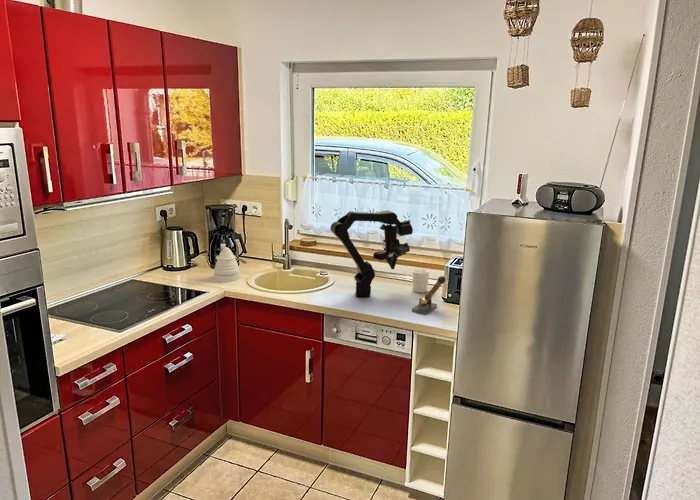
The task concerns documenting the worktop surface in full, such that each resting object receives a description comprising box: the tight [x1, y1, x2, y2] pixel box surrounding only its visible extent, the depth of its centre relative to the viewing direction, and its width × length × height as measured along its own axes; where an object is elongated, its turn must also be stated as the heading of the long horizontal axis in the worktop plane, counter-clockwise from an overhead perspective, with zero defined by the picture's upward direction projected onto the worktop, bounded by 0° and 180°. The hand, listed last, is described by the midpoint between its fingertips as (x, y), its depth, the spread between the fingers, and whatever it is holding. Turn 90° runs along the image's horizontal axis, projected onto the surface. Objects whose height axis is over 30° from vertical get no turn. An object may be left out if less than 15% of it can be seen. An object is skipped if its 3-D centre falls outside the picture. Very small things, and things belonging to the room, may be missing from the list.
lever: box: [424, 275, 446, 303], centre depth 230 cm, size 3×4×15 cm
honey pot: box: [213, 243, 241, 283], centre depth 269 cm, size 13×13×18 cm
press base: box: [411, 293, 438, 315], centre depth 231 cm, size 7×12×6 cm, turn 150°
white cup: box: [412, 268, 430, 294], centre depth 256 cm, size 8×8×10 cm
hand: (392, 269), depth 251 cm, fingers closed
